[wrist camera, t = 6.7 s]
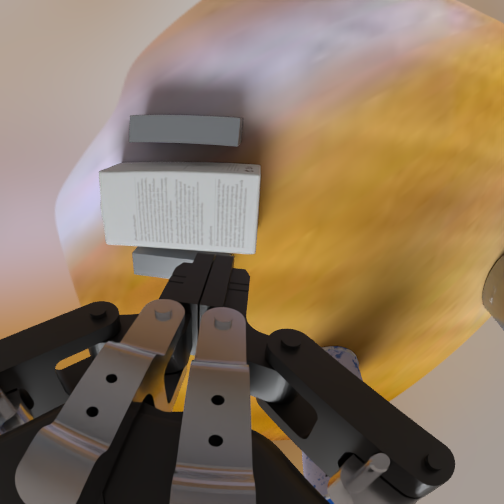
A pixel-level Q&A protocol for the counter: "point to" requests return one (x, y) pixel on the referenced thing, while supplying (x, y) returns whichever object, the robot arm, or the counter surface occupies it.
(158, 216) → the skincare box
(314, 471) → the aerosol can
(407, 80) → the counter surface
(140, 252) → the charcoal cradle
